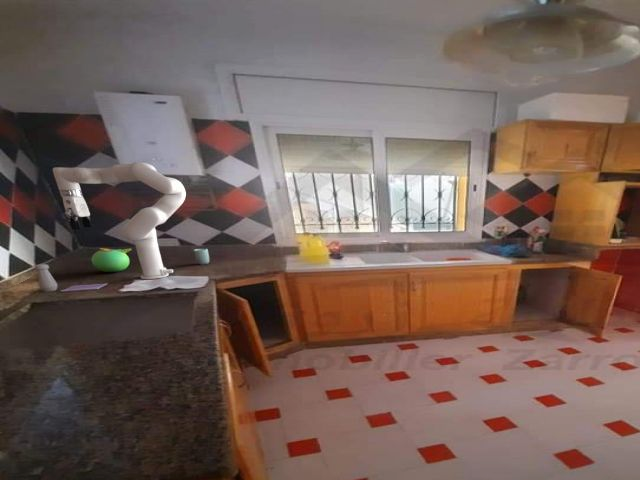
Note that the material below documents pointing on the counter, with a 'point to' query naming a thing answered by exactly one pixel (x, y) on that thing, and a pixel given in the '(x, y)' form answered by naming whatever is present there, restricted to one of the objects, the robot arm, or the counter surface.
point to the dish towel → (84, 287)
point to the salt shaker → (45, 278)
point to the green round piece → (111, 260)
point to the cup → (201, 256)
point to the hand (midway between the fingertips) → (82, 228)
